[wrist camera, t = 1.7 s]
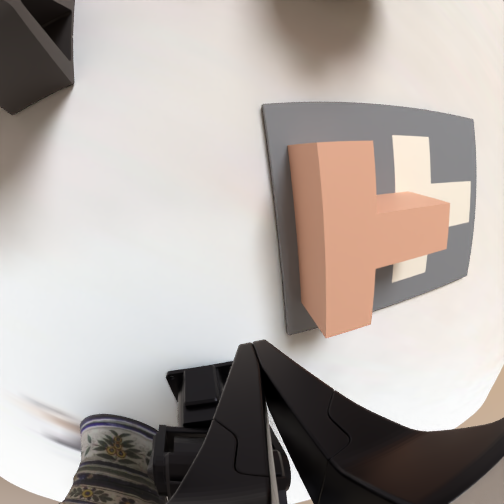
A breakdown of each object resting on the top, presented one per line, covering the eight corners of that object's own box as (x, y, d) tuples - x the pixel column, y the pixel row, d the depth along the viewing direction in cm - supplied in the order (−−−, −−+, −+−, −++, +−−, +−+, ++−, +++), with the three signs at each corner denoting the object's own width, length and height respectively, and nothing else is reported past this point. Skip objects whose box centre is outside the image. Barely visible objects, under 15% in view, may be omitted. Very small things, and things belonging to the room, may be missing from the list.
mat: (464, 274, 26) (466, 275, 26) (287, 332, 23) (288, 335, 23) (469, 119, 20) (473, 119, 19) (261, 105, 17) (263, 104, 16)
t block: (404, 274, 23) (438, 298, 19) (301, 302, 22) (325, 338, 17) (405, 141, 19) (449, 143, 14) (287, 145, 18) (316, 142, 13)
